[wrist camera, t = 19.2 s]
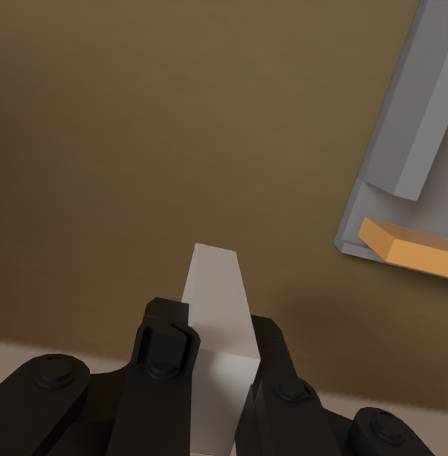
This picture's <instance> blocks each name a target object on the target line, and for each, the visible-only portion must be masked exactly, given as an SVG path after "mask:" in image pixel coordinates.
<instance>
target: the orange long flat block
mask: <svg viewBox="0 0 448 456" xmlns="http://www.w3.org/2000/svg"><path fill="white" fill-rule="evenodd" d="M358 237H359V238H360V239H361V240H363V241H364V242H365V243H366V244H367V245H368V246H369V247H370V248H371V249H373V250H374V251H375V252H376V253H377V254H378V255H379V256H380V257H381V258H382V259H384V260H385V261H386V262H390V263H394V264H398V265H402V266H406V267H410V268H414V269H418V270H422V271H426V272H430V273H434V274H438V275H442V276H446V277H448V238H447V237H443V236H439V235H435V234H431V233H427V232H424V231H420V230H416V229H412V228H408V227H404V226H400V225H396V224H392V223H389V222H385V221H381V220H377V219H373V218H369V217H364V220H363V223H362V225H361V228H360V231H359V233H358Z"/></svg>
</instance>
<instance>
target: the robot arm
mask: <svg viewBox="0 0 448 456" xmlns="http://www.w3.org/2000/svg"><path fill="white" fill-rule="evenodd" d="M234 441H235V444H236V454H237V456H435V455H434V454H433V453H432V452H431V451H430V450H429V448H428V447H427V446H426V445H425V444H424V443H423V442H422V441H421V439H420V438H419V437H418V436H417V435H416V434H415V433H414V431H413V430H412V429H411V428H410V427H409V426H407V425H406V424H405V423H404V422H403V421H402V420H401V419H399V418H397V417H396V416H394V415H393V414H392V413H389V412H387V411H385V410H382V409H379V408H373V407H365V408H361V409H360V410H359V411H358V412H357V413H356V415H355V417H354V420H350V419H348V418H346V417H343V416H341V415H338V414H336V413H333V412H331V411H329V410H327V409H325V408H323V407H322V405H321V402H320V399H319V397H318V395H317V393H316V392H315V390H314V389H313V388H312V387H311V386H310V385H309V384H308V383H307V382H305V381H304V380H302V379H300V378H299V377H297V374H296V371H295V369H294V366H293V363H292V360H291V357H290V354H289V351H287V346H286V343H285V342H284V337H283V334H282V331H281V329H280V328H279V327H278V326H277V325H276V324H275V323H274V321H273V320H272V319H270V318H265V317H260V316H255V315H250V312H249V308H248V303H247V299H246V295H245V290H244V286H243V282H242V277H241V273H240V269H239V264H238V260H237V256H236V252H235V251H231V250H226V249H222V248H217V247H212V246H208V245H203V244H199V243H196V245H195V249H194V253H193V257H192V261H191V265H190V269H189V273H188V277H187V281H186V285H185V289H184V293H183V297H182V302H178V301H173V300H168V299H163V298H158V297H156V298H154V299H153V300H152V301H151V302H149V303H148V304H147V306H146V310H145V313H144V317H143V321H142V324H141V325H140V327H139V328H138V330H137V334H136V339H135V344H134V348H133V353H132V357H131V361H130V362H129V363H128V364H127V365H126V366H124V367H123V368H121V369H119V370H116V371H113V372H108V373H101V374H90V370H89V368H88V367H87V366H86V365H85V364H84V362H83V361H81V360H79V359H77V358H75V357H73V356H68V355H63V354H46V355H42V356H38V357H35V358H32V359H31V360H29V361H27V362H26V363H24V364H22V365H21V366H20V367H19V368H18V369H17V370H16V371H14V372H13V373H12V374H11V375H10V376H8V377H7V378H6V379H5V380H4V381H3V382H2V383H0V456H190V452H194V453H200V454H207V455H214V456H230V453H231V450H232V447H233V444H234Z"/></svg>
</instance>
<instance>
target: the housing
mask: <svg viewBox="0 0 448 456" xmlns="http://www.w3.org/2000/svg"><path fill="white" fill-rule="evenodd" d="M364 217H369V218H373V219H377V220H381V221H385V222H389V223H392V224H396V225H400V226H404V227H408V228H412V229H416V230H420V231H424V232H427V233H431V234H435V235H439V236H443V237H447V238H448V0H420V2H419V5H418V7H417V10H416V13H415V16H414V19H413V21H412V24H411V27H410V30H409V33H408V35H407V38H406V41H405V44H404V47H403V49H402V52H401V55H400V58H399V61H398V63H397V66H396V69H395V72H394V75H393V77H392V80H391V83H390V86H389V89H388V91H387V94H386V97H385V100H384V103H383V105H382V108H381V111H380V114H379V117H378V119H377V122H376V125H375V128H374V131H373V133H372V136H371V139H370V142H369V145H368V147H367V150H366V153H365V156H364V159H363V161H362V164H361V167H360V170H359V173H358V175H357V178H356V181H355V184H354V187H353V189H352V192H351V195H350V198H349V201H348V203H347V206H346V209H345V212H344V215H343V217H342V220H341V223H340V226H339V229H338V231H337V234H336V237H335V240H334V242H333V244H334V245H335V246H336V247H337V248H338V249H339V251H340V252H342V253H346V254H350V255H354V256H358V257H362V258H366V259H370V260H374V261H378V262H382V263H386V264H390V265H394V266H398V267H402V268H406V269H410V270H415V271H419V272H423V273H427V274H431V275H435V276H439V277H443V278H447V279H448V277H446V276H442V275H438V274H434V273H430V272H426V271H422V270H418V269H414V268H410V267H406V266H402V265H398V264H394V263H390V262H386V261H385V260H384V259H382V258H381V257H380V256H379V255H378V254H377V253H376V252H375V251H374V250H373V249H371V248H370V247H369V246H368V245H367V244H366V243H365V242H364V241H363V240H361V239H360V238H359V237H358V233H359V231H360V228H361V225H362V223H363V220H364Z"/></svg>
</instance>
